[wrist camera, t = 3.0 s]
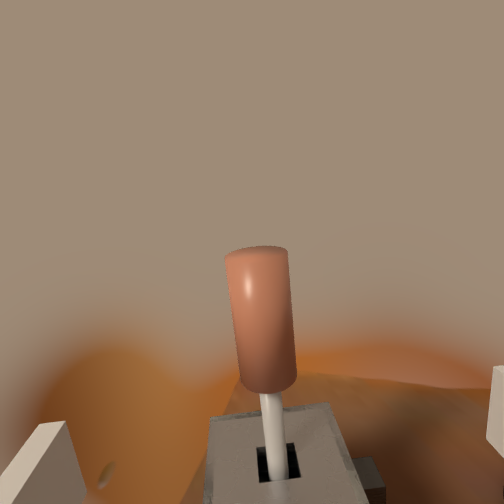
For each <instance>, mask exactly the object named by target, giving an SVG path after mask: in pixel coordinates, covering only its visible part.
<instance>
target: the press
mask: <svg viewBox="0 0 504 504" xmlns="http://www.w3.org/2000/svg"><path fill="white" fill-rule="evenodd" d="M283 417H284V428H285V438H286V449H287V460H288V470H289V479H287V480H280V481H272V482H270V480H269V472H268V463H267V454H266V445H265V437H264V428H263V419H262V411H254V412H247V413H239V414H231V415H223V416H215V417H210V427H209V438H208V449H207V461H206V472H205V483H204V495H203V504H386V486H385V484H384V482H383V480H382V477H381V475H380V473H379V471H378V469H377V467H376V465H375V463H374V461H373V459H372V456H369V457H362V458H354V459H351V457H350V454H349V452H348V449H347V447H346V444H345V442H344V439H343V437H342V434H341V432H340V430H339V427H338V425H337V422H336V420H335V417H334V415H333V412H332V410H331V407H330V405H329V402H324V403H317V404H309V405H301V406H293V407H285V408H283Z"/></svg>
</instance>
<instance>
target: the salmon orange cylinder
mask: <svg viewBox="0 0 504 504" xmlns="http://www.w3.org/2000/svg"><path fill="white" fill-rule="evenodd" d="M225 264H226V272H227V280H228V287H229V295H230V302H231V310H232V318H233V325H234V333H235V341H236V349H237V356H238V363H239V371H240V379H241V383H242V384H243V386H244V387H245V388H247V389H248V390H250V391H252V392H255V393H259V394H260V402H261V410H262V419H263V428H264V437H265V445H266V454H267V463H268V472H269V480H270V482H272V481H280V480H287V479H289V470H288V460H287V449H286V438H285V428H284V417H283V406H282V396H281V391H283V390H285V389H287V388H289V387H290V386H291V385H292V384H293V383H294V382H295V380H296V377H297V368H296V356H295V344H294V330H293V317H292V304H291V291H290V278H289V265H288V253H287V250H286V249H284V248H281V247H276V246H256V247H248V248H243V249H239V250H236V251H233V252H231V253H229V254H227V255H226V256H225Z"/></svg>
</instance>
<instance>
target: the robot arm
mask: <svg viewBox="0 0 504 504" xmlns="http://www.w3.org/2000/svg"><path fill="white" fill-rule="evenodd" d="M486 439H487V440H488V441H489V443H490V444H491V445H492V446H493V447H494V448H495V449H496V450H497V451H498V452H499V453H500V454H501V456H502V457H503V458H504V365H502V366H494V367H493V377H492V386H491V395H490V405H489V414H488V424H487V433H486ZM86 493H87V490H86V487H85V484H84V480H83V478H82V474H81V471H80V467H79V464H78V461H77V457H76V454H75V451H74V448H73V444H72V441H71V438H70V435H69V431H68V428H67V425H66V421H61V422H52V423H46V424H45V423H44V424H39V425H38V427H37V428H36V429H35V431H34V432H33V434H32V435H31V436H30V437H29V439H28V440H27V441H26V443H25V444H24V445H23V447H22V448H21V450H20V451H19V452H18V454H17V455H16V456H15V458H14V459H13V460H12V462H11V463H10V465H9V466H8V467H7V468H6V470H5V471H4V472H3V474H2V475H1V476H0V504H82V502H83V500H84V498H85V495H86ZM503 497H504V488H503Z"/></svg>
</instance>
